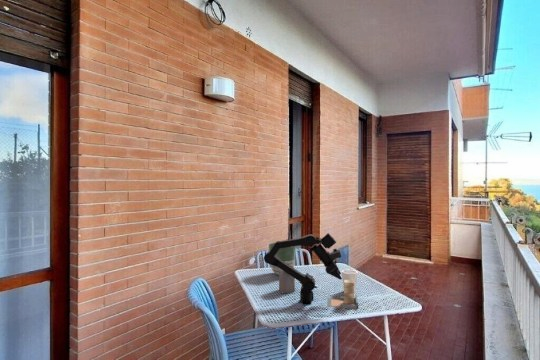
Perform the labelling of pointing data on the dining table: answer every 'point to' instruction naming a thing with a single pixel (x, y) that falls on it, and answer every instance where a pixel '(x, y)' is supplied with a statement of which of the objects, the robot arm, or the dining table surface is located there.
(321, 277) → the dining table surface
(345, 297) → the beech block
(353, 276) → the foam cup
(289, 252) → the planter
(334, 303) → the tray
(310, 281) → the robot arm
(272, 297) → the dining table surface
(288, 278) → the pillar candle
